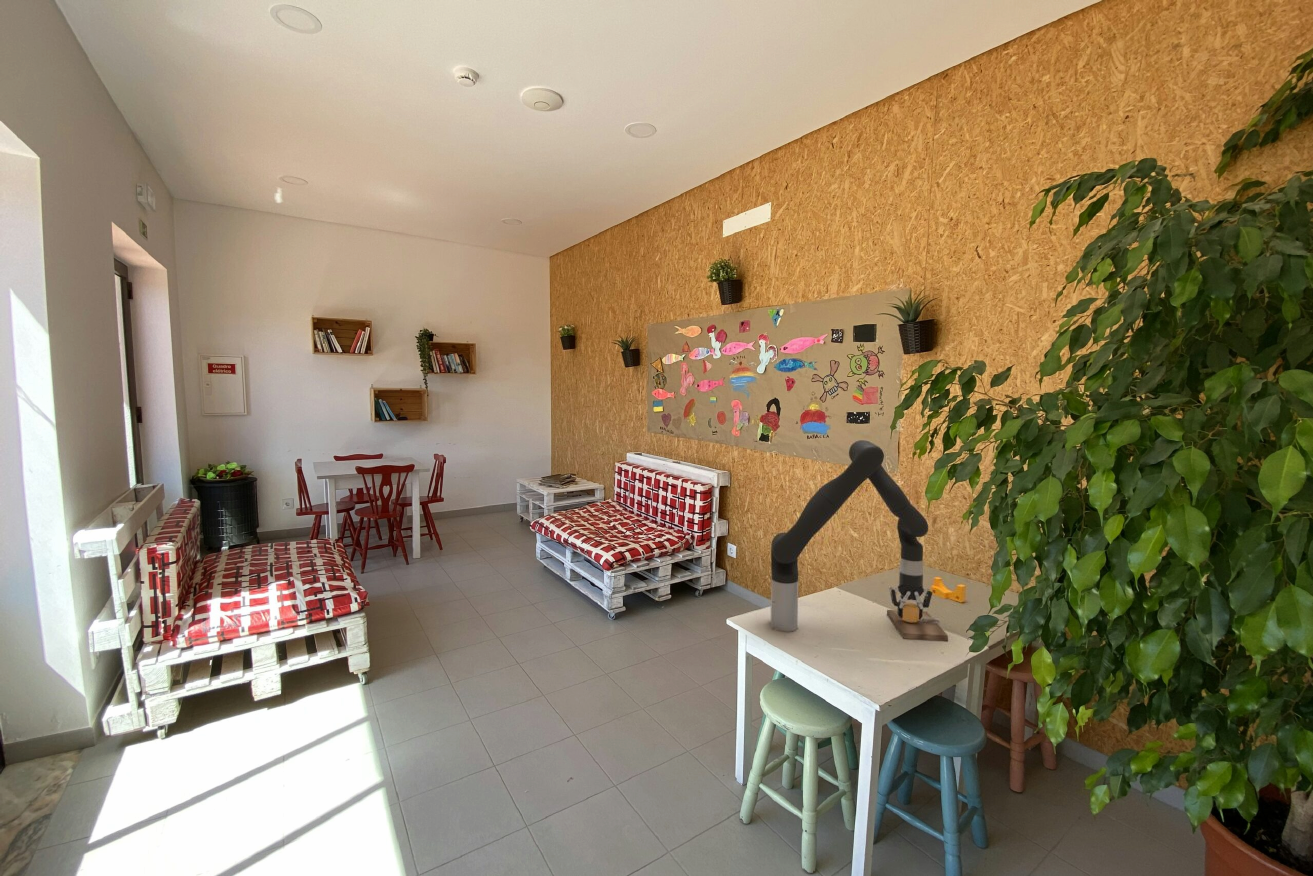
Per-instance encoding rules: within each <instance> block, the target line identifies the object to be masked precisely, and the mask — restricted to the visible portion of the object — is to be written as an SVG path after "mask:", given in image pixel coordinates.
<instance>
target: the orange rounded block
mask: <svg viewBox="0 0 1313 876" xmlns="http://www.w3.org/2000/svg"><path fill="white" fill-rule="evenodd" d="M902 620H904V621H907V622H917V621H919V606H918V605H917V603H915V602H907V601H906V603H905V604H904V606H903V618H902Z"/></svg>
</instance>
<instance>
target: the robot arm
mask: <svg viewBox="0 0 1313 876" xmlns="http://www.w3.org/2000/svg"><path fill="white" fill-rule="evenodd" d="M884 453H885V452H884V451H883V450H882V448H881V447H880V446H878V445H876V443H873V442H870V441H869V440H865V439H863V440H862V439H859V440H855V442H853V443H852V444H851V445H850V447H849V450H848V457H849V459H850V461H851V463H850V464H849V465H848V466H847V467H846V469H845V470H844V471H843V472H841V474H839V475H838V476H836V477H835V478H833V479H831V480H830V481H828V482H826V483H825V484H823V485H822V486H820V488H819V489H818V490H817V491H816V492H815V493H814V494H813V495H812V496H811V498H810V499H809V501H807V503H806V505H805V507H804V508H803V510H802V512H801V513H800V515H799V517H798V519H797V520H796V522H795V523H794V525H793V526H792V527H791V528H790V529H788V531H787V532H779V533H777V534H775V536H774V537H773V538H772V540H771V547H770V550H771V551H770V568H771V569H770V571H771V576H770V577H771V592H770V594H771V595H770V627H771V630H776V631H779V632H783V633H789V632H794V631H797V629H798V626H799V625H798V624H799V622H798V621H799V616H798V615H799V564H798V561H799V560H798V559H799V556H800V555H801V554H802V552H803V551H804V549H805V548H806V547H807V546H808V543H809V542H810V541H812V538H813V537H814V536H815V535H816V534H818V532H819V531H820V530H821V529H822V528H823V527H824V526H825V525H826V524H827V523H828V522H829V521H830V519H832V518H833V516H835V514H836V513H837V512H838V511H839V510H840V509H841V507H842V506H843V505H844V504H845V502H846V501H848V499H849V498H850V497H851V496H852V494H854V493H855V491H856V490H857V489H858V488H859V487H860V486H861V485H862V484H863V483H864V482H865V481H866V480H868V481H870V483H871V485H872V486H873V487H874V489H875V491H877V493H878V494H879V496H880V497H881V499H882V500H883V502H884V503H885V505H886V507H887V508H888V509H889V511H890V512H891V513H892V515H893V516H895V517H897V518H898V520H897V524H896V525H897V526H896V528H897V533H898V539H899V542H900V561H899V567H898V569H899V573H898V575H899V577H898V579H899V580H898V586H897V587H895V588H894V587H889V592H890V593H889V594H890V599H891V603H892V605H894V607H897V609H896V610H897V614H898V616H899V617H900V618H903V606H904V604H905V603H906V602H907V601H910V600H912V601H915V602H916V603H915V604H916V605H918V606H919V619H921V618H922V615H923V610H924V609H925V608H929V607H930V604H931V599H932V596H933V594H932V592H931V589H929V588H928V589H924V586H923V585H924V562H923V561H924V545H923V544H922V543H921V542H920V541H919V539H918V538H922V537H925V536H926V535H927V534H928V531H929V524H928V520H927V519H926V518H925V516H924V515H923V514H922V513H921V512H920V511H919V510H918V509H917V508H916V507H915V506H914V505H913V504H912V503H911V502H910V499H909V498H908V497H907V496H906V494H905V492H904V491H903V489H902V488H901V487H900V486H899V485H898V484H897V482H896V481H895V480H894V479H893V478H892V477H891V475H889V473H888V472H887V471H886V470H885V469H884V467H883V465H882V464H883V462H884V459H885V454H884ZM898 592H899V594H900V595H899V598H898V599H897V595H898ZM922 595H924V596H923V597H924V598H923V602H922V600H921V596H922Z"/></svg>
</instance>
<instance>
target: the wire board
mask: <svg viewBox="0 0 1313 876" xmlns="http://www.w3.org/2000/svg"><path fill="white" fill-rule="evenodd" d="M886 616H887V617H888V618H889V620H890V622H891V623H892V625H893V626H894V627H895V629H896V630H897V632H898V633H899V635H900V636H901V638H902V639H904V640H918V641H939V642H948V641H949V635H948V634H947V632H945V630H944V629H943V628H942V627H941V626H940V625H939V624H940V619H939V618H936V617H932V616H931V615H930V613H928V611H923V615H922V618H921V619H919V621H917V622H907V621H904V620H902V618H900V617H899V616H898V614H897V609H886Z"/></svg>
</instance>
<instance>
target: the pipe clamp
mask: <svg viewBox="0 0 1313 876" xmlns="http://www.w3.org/2000/svg"><path fill="white" fill-rule="evenodd" d="M930 591H931V592H932V595H934V596H937V597H939V598H942V599H944V600H946V599H950V600H951V601H955V602H958V603H961V604H962V603H964V602H966V585H965V584H957V585H956V587H955V590H953V591H952V590H949V588H947V587H946V586H945V584H944V581H943V578H942V577H939V576H937V577H936V576H935V577H933V585H931V586H930Z"/></svg>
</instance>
